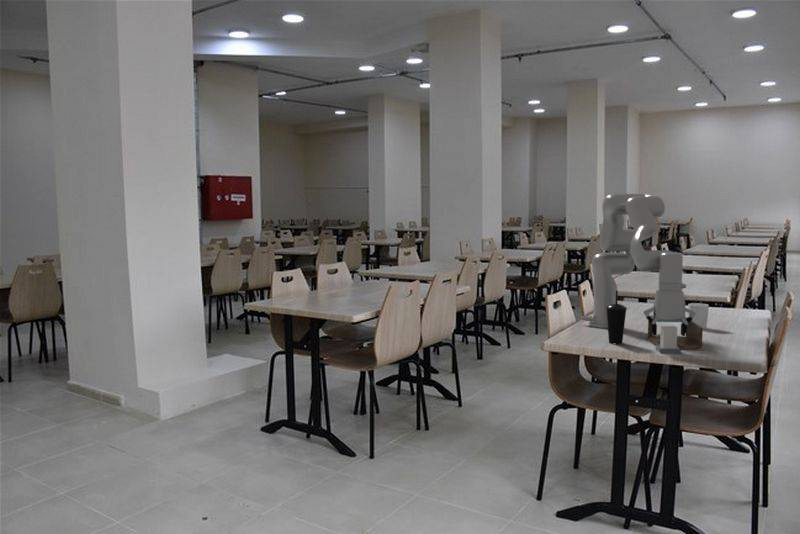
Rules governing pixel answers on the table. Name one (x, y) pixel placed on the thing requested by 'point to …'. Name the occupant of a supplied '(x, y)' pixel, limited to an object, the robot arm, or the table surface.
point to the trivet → (667, 350)
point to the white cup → (699, 313)
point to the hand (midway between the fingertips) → (668, 335)
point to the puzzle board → (689, 342)
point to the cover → (668, 320)
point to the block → (668, 336)
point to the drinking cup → (616, 321)
